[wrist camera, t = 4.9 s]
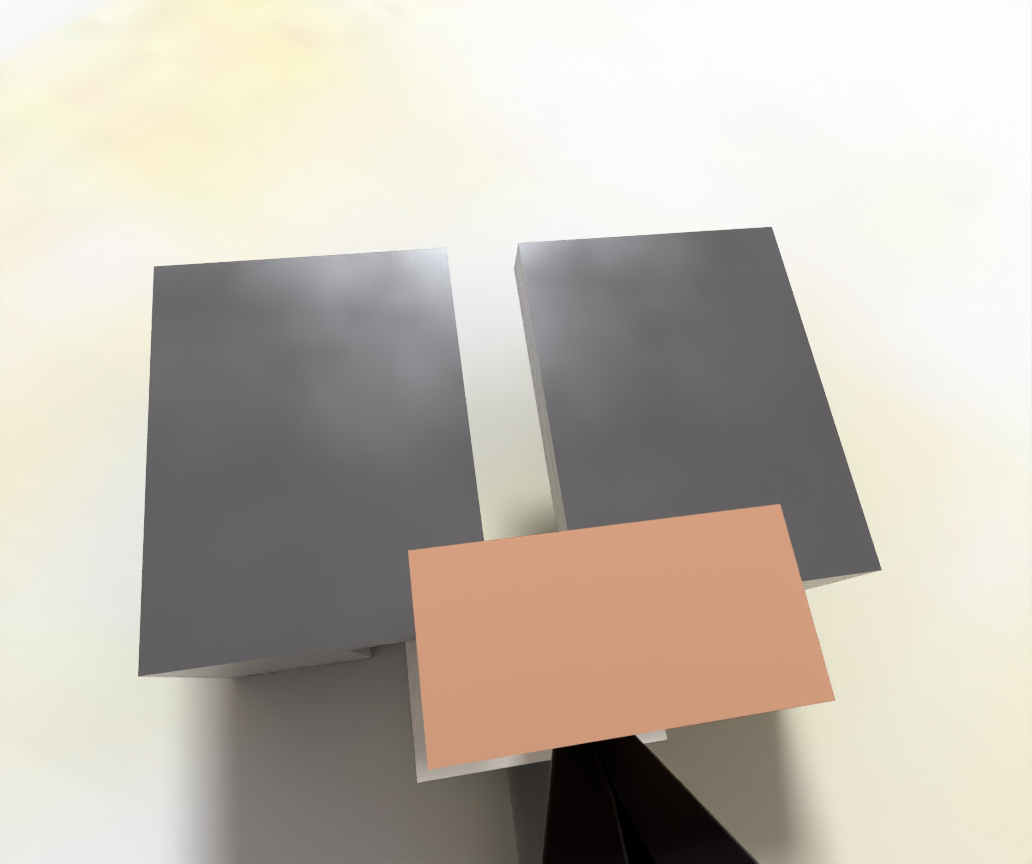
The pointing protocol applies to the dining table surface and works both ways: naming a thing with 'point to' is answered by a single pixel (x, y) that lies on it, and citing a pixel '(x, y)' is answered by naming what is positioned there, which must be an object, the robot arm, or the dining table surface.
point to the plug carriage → (602, 643)
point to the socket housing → (457, 430)
